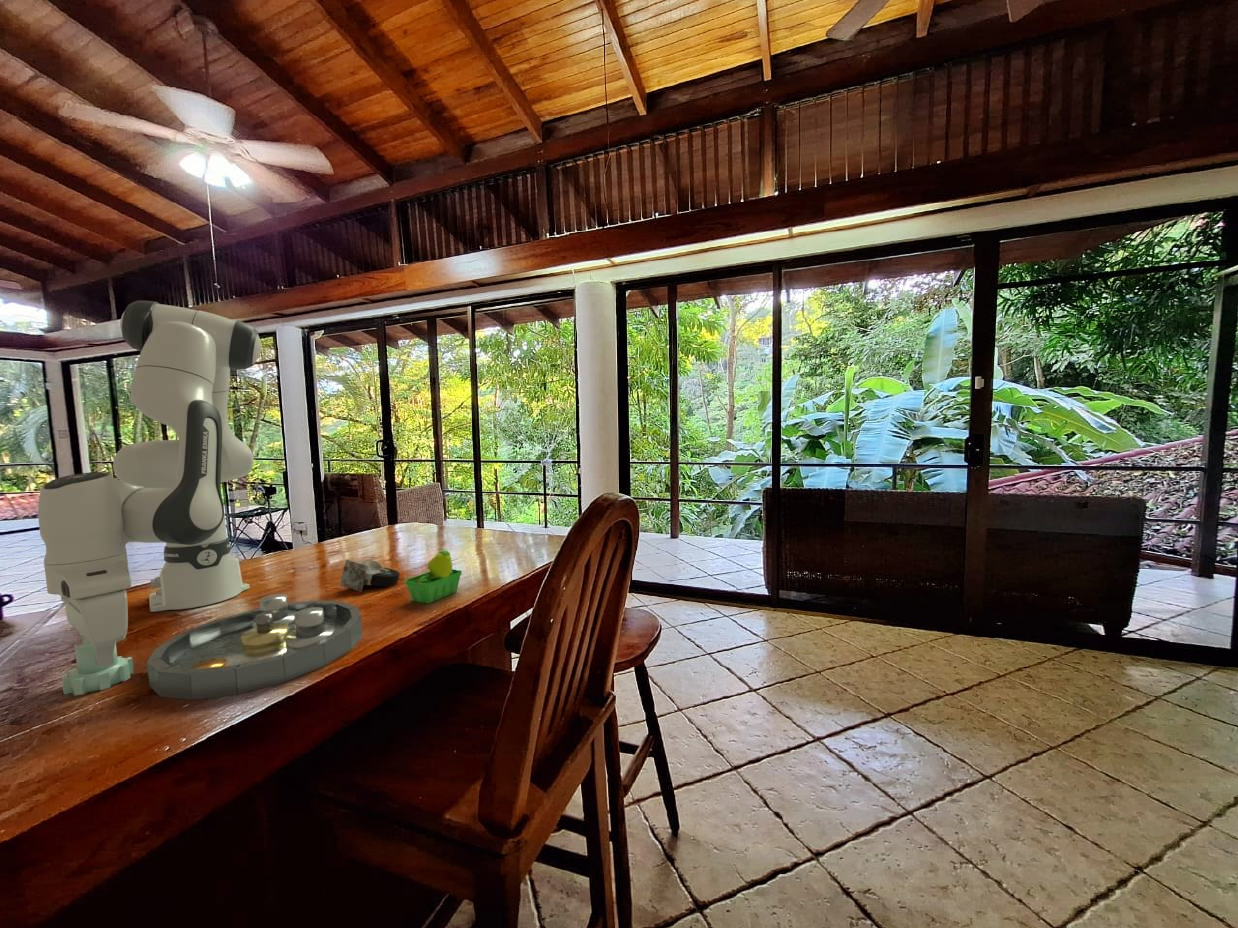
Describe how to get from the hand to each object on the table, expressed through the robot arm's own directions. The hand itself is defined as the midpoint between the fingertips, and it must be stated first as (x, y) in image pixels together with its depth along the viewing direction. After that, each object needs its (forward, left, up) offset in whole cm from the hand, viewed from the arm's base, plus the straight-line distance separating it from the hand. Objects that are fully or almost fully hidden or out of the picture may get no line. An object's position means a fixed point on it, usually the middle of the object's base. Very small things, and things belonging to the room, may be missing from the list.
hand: (99, 658), depth 77 cm
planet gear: (0, 0, -4) cm, 4 cm away
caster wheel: (-8, +50, -4) cm, 51 cm away
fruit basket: (+14, +53, -4) cm, 55 cm away
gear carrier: (+12, +19, -4) cm, 23 cm away
